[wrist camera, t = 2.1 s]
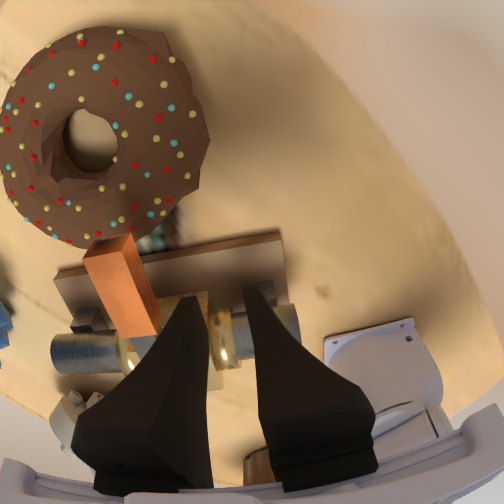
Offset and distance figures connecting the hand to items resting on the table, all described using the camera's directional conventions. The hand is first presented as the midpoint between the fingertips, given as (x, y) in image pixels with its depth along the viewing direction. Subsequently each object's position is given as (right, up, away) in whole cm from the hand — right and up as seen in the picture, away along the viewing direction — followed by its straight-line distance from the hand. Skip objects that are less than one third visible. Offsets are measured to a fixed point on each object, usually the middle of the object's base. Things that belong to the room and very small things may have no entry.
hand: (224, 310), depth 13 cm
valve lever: (-4, -2, +4) cm, 6 cm away
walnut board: (-5, -2, +13) cm, 14 cm away
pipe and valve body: (-5, -2, +12) cm, 13 cm away
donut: (-8, +10, +6) cm, 14 cm away
